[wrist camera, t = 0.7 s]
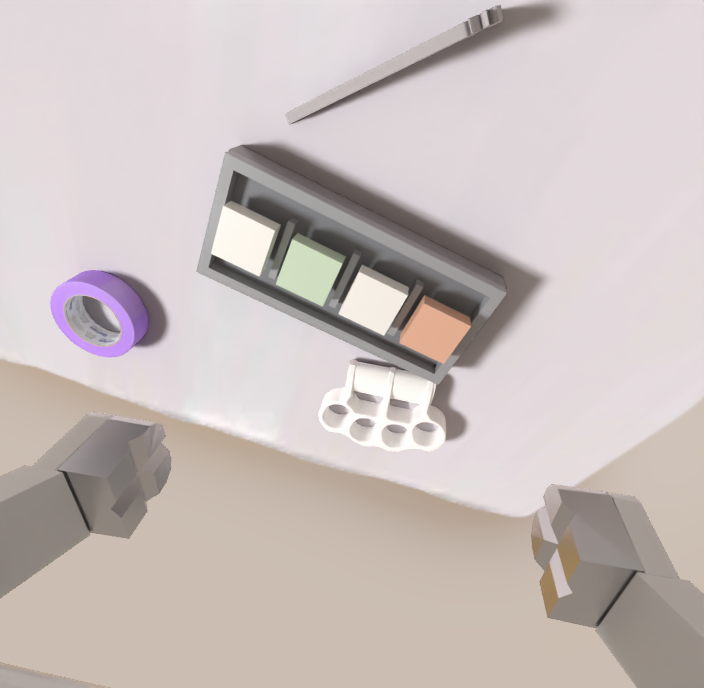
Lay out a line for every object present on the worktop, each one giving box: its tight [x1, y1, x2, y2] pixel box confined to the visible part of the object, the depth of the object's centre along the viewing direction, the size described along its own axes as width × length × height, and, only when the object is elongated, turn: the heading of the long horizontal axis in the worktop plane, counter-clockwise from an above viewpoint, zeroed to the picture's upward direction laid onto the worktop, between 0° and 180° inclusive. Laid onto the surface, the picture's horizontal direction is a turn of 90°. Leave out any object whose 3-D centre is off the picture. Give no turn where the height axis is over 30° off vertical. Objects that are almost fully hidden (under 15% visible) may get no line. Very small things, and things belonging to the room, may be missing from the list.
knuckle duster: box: [319, 360, 446, 452], centre depth 60 cm, size 3×18×15 cm
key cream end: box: [211, 201, 281, 276], centre depth 45 cm, size 6×6×2 cm
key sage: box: [276, 233, 346, 307], centre depth 46 cm, size 6×6×2 cm
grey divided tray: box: [196, 145, 507, 385], centre depth 49 cm, size 14×32×4 cm, turn 66°
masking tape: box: [50, 270, 149, 357], centre depth 59 cm, size 12×12×4 cm
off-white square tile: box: [339, 265, 409, 336], centre depth 46 cm, size 6×6×2 cm
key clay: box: [399, 295, 471, 364], centre depth 47 cm, size 6×6×2 cm
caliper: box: [285, 5, 503, 124], centre depth 37 cm, size 21×1×6 cm, turn 113°
